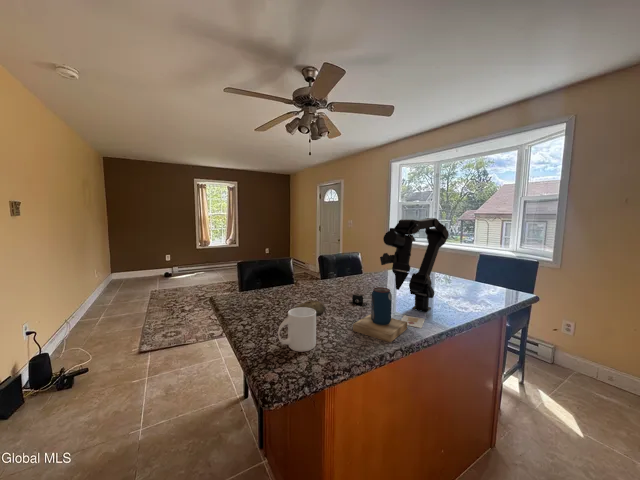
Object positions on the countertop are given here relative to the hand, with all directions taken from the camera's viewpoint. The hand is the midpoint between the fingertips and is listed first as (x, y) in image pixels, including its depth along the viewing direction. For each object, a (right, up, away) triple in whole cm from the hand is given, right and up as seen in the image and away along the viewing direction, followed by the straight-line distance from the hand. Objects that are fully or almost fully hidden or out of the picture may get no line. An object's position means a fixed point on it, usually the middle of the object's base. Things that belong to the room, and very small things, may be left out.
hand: (397, 289), depth 102 cm
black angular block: (-13, -11, +21) cm, 27 cm away
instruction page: (+5, -12, -2) cm, 13 cm away
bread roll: (-34, -12, +10) cm, 37 cm away
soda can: (-9, -10, -10) cm, 17 cm away
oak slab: (-9, -13, -10) cm, 18 cm away
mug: (-37, -14, -22) cm, 46 cm away
